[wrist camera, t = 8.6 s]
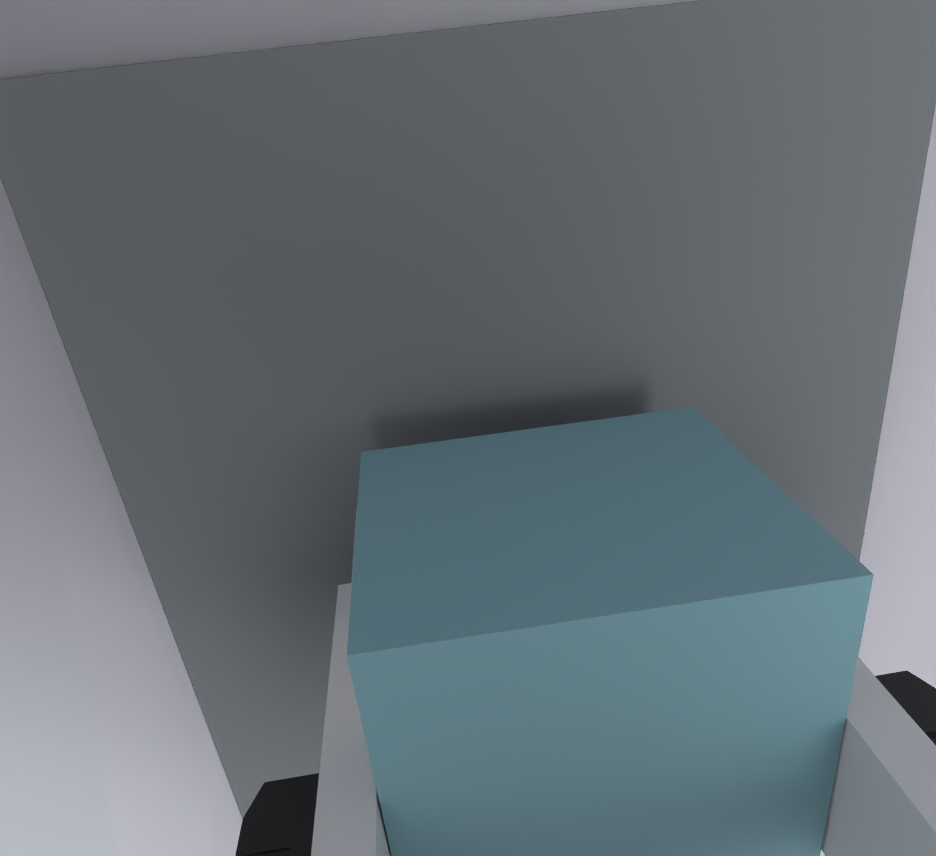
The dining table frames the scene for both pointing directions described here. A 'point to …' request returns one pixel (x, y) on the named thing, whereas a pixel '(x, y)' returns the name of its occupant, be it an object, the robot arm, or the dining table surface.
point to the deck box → (598, 644)
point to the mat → (461, 281)
